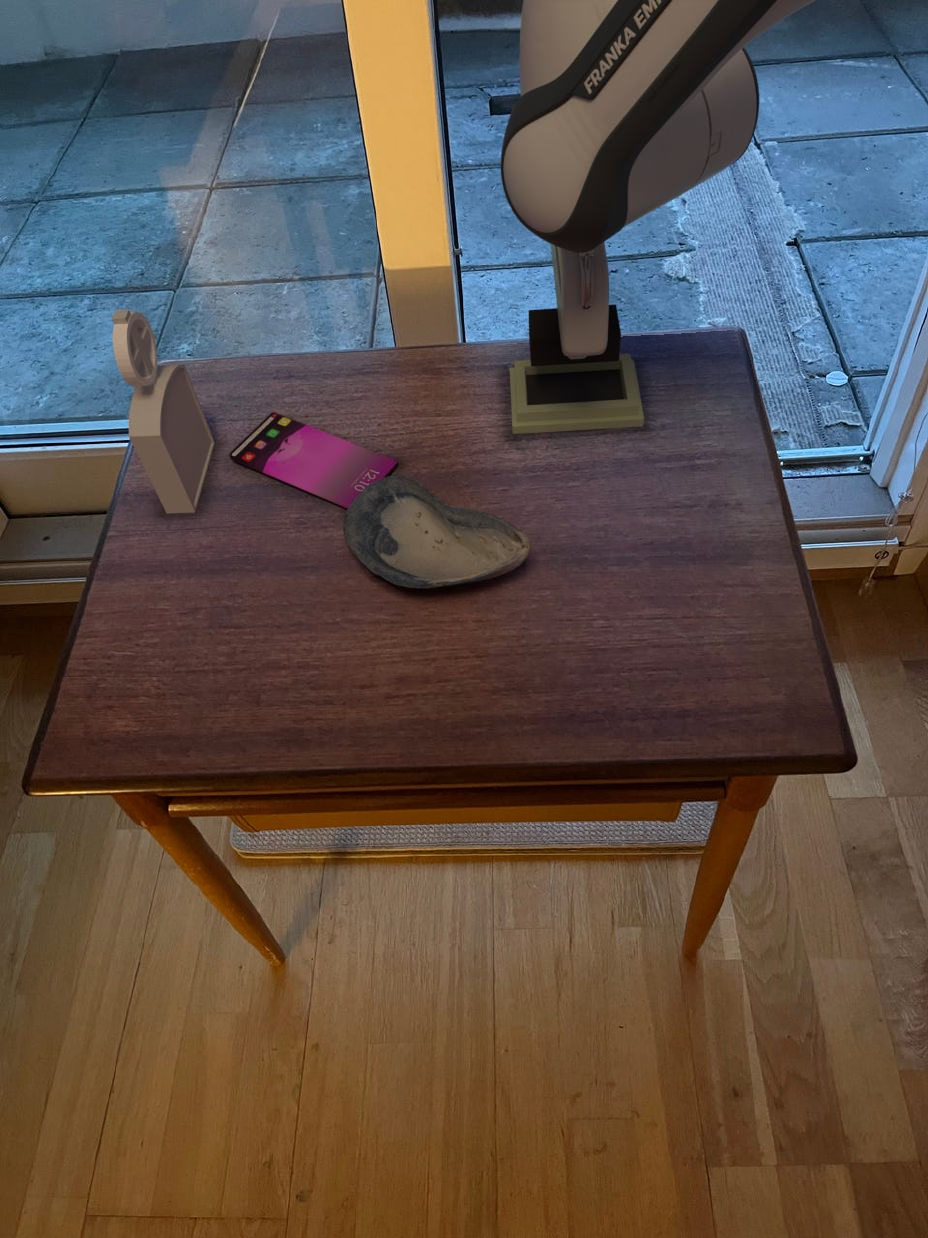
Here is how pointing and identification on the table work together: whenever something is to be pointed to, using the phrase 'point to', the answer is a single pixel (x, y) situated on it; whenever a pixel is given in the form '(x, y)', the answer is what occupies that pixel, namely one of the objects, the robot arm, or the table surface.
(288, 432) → the smartphone
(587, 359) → the black pad
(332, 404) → the table surface
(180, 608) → the table surface
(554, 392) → the pad
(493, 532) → the seashell
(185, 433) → the gravestone
